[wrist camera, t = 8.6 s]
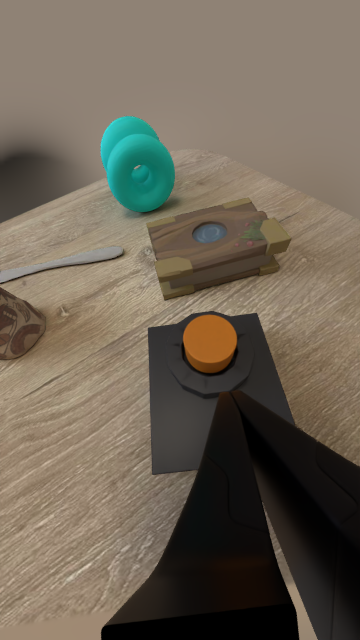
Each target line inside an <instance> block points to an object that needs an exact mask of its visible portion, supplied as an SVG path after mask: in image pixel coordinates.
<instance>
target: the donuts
mask: <svg viewBox="0 0 360 640" xmlns="http://www.w3.org/2000/svg"><path fill="white" fill-rule="evenodd" d="M101 158H102V162H103V166H104V168H105V170H106V172H107V180H108V184H109V187H110V189H111V192H112V193H113V195H114V197H115V198H116V199H117V200H118V201H119V202H120V203H121V204H122V205H123V206H124V207H126V208H128V209H130V210H133V211H136V212H148V211H152V210H154V209H156V208H158V207H160V206H161V205H162V204H163V203H164V202H165V201H166V200H167V199H168V197H169V195H170V194H171V192H172V189H173V186H174V181H175V170H174V164H173V160H172V158H171V156H170V154H169V152H168V150H167V149H166V148H165V146H164V145H163V144H162V143H161V142H160V141H159V138H158V136H157V134H156V133H155V131H154V130H153V129H152V128H151V127H150V125H149V124H147V123H146V122H145V121H143V120H142V119H139V118H136V117H132V116H126V117H121V118H118V119H116V120H115V121H113V122H112V123H111V124H110V125H109V126H108V128H107V129H106V131H105V133H104V135H103V138H102V141H101ZM138 165H141V166H140V167H138V168H137V169H134V168H135V167H136V166H138Z"/></svg>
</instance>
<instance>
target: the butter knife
mask: <svg viewBox="0 0 360 640" xmlns="http://www.w3.org/2000/svg"><path fill="white" fill-rule="evenodd" d="M122 253H123V249H122V247H118V246H113V247H107V248H102V249H97V250H92V251H88V252H84V253H80V254H76V255H73V256H69V257H65V258H61V259H57V260H53V261H49V262H45V263H40V264H35V265H31V266H26V267H21V268H15V269H10V270H5V271H0V283H1V282H5V281H8V280H11V279H13V278H16V277H19V276H22V275H25V274H29V273H33V272H37V271H40V270H43V269H48V268H53V267H59V266H64V265H72V264H82V263H88V262H94V261H100V260H105V259H110V258H114V257H117V256H119V255H121V254H122Z"/></svg>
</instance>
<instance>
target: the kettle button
mask: <svg viewBox="0 0 360 640" xmlns="http://www.w3.org/2000/svg"><path fill="white" fill-rule="evenodd" d="M183 342H184V347H185V352H186V357H187V359H188V361H189V363H190V364H191V365H192V366H193V367H194V368H195V369H197V370H199V371H201V372H204V373H216V372H219V371H221V370H223V369H224V368H226V367H227V366H228V365H229V363H230V362H231V359H232V357H233V354H234V351H235V348H236V345H237V335H236V332H235V330H234V328H233V326H232V325H231V324H230V323H229V322H228V321H227V320H225V319H224V318H222V317H219V316H216V315H203V316H200V317H197V318H195V319H194V320H192V321H191V322H190V323H189V324H188V326H187V327H186V329H185V331H184V335H183Z"/></svg>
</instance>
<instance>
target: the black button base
mask: <svg viewBox="0 0 360 640" xmlns="http://www.w3.org/2000/svg"><path fill="white" fill-rule="evenodd" d="M203 315H216V316H219V317H222V318H224V319H225V320H227V321H228V322H229V323H230V324H231V325H232V326H233V328H234V330H235V332H236V335H237V345H236V348H235V351H234V354H233V357H232V359H231V362H230V363H229V365H228V366H227V367H226V368H224V369H223V370H221V371H219V372H216V373H204V372H201V371H199V370H197V369H195V368H194V367H193V366H192V365H191V364H190V363H189V361H188V359H187V357H186V352H185V347H184V342H183V335H184V331H185V329H186V327H187V326H188V324H189V323H190V322H191V321H192V320H194V319H195V318H197V317H200V316H203ZM148 345H149V380H150V414H151V448H152V475H156V474H165V473H173V472H182V471H191V470H198V469H199V465H200V462H201V458H202V455H203V451H204V448H205V444H206V441H207V437H208V433H209V430H210V426H211V423H212V419H213V415H214V412H215V408H216V404H217V401H218V397H219V394H220V393H223V392H230V393H231V392H232V391H239V390H240V391H243V392H244V393H246V394H247V395H249V396H250V397H252V398H253V399H255V400H256V401H258V402H259V403H261V404H262V405H264V406H265V407H267V408H268V409H270V410H272V411H273V412H275V413H276V414H278V415H279V416H281V417H282V418H284V419H285V420H287V421H288V422H290V423H291V424H293V425H294V426H295V423H294V420H293V417H292V414H291V411H290V408H289V405H288V402H287V400H286V397H285V394H284V391H283V388H282V385H281V382H280V379H279V376H278V373H277V370H276V367H275V364H274V361H273V359H272V356H271V353H270V350H269V347H268V344H267V341H266V338H265V335H264V332H263V329H262V326H261V323H260V320H259V317H258V315H257V313H252V314H245V315H238V316H227V315H224V314H221V313H218V312H214V311H209V312H202V313H195V314H191V315H189V316H188V317H187V318H185V319H184V320H182V321H181V322H179V323H178V324H172V325H165V326H158V327H151V328H148Z"/></svg>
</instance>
